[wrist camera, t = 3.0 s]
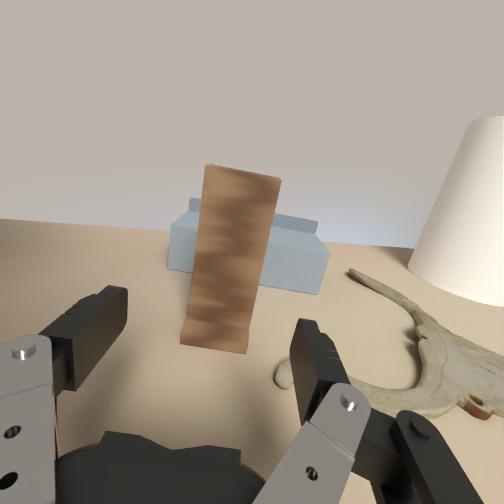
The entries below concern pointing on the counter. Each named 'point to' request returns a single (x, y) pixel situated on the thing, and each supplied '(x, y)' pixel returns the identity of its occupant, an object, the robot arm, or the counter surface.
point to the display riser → (276, 257)
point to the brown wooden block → (229, 257)
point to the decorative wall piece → (433, 370)
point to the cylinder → (468, 220)
